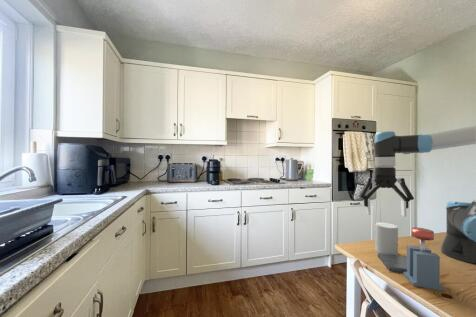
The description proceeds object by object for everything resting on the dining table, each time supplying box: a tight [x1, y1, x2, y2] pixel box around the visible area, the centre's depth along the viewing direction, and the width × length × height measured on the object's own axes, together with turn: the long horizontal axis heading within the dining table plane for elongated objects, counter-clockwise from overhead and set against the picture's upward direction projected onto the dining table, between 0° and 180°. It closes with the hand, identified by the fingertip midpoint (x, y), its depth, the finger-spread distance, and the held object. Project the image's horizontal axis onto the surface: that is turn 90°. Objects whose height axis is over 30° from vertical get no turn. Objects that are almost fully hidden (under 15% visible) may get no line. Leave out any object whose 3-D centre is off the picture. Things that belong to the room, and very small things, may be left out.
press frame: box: [402, 245, 445, 291], centre depth 71 cm, size 8×7×10 cm
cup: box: [374, 221, 399, 255], centre depth 94 cm, size 8×8×12 cm
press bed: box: [377, 252, 407, 274], centre depth 82 cm, size 12×12×2 cm
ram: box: [411, 227, 435, 252], centre depth 71 cm, size 6×6×10 cm
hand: (385, 214), depth 94 cm, fingers open, 13 cm apart
